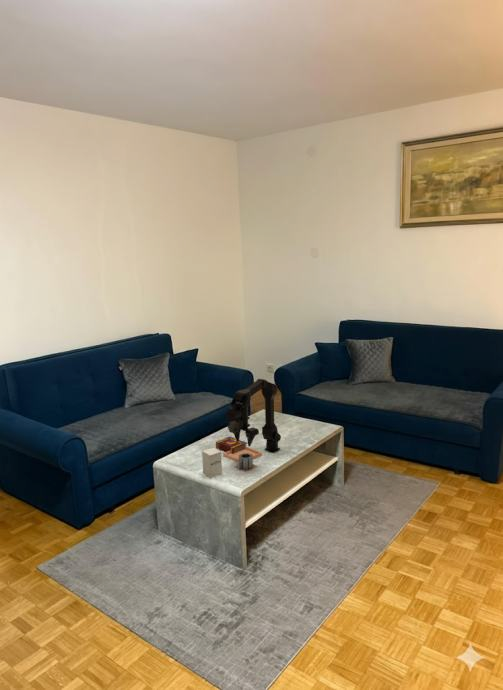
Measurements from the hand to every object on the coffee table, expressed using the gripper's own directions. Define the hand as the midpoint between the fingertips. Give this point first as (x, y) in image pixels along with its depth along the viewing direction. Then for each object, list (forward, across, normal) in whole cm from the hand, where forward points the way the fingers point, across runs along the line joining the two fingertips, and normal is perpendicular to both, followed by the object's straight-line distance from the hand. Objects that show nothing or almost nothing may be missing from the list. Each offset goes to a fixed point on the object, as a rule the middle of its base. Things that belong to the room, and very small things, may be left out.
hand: (243, 443), depth 261 cm
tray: (+13, -11, +8) cm, 19 cm away
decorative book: (+14, -24, +11) cm, 30 cm away
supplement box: (+13, -6, -17) cm, 22 cm away
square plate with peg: (+13, +1, 0) cm, 13 cm away
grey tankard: (+12, +1, 0) cm, 13 cm away
